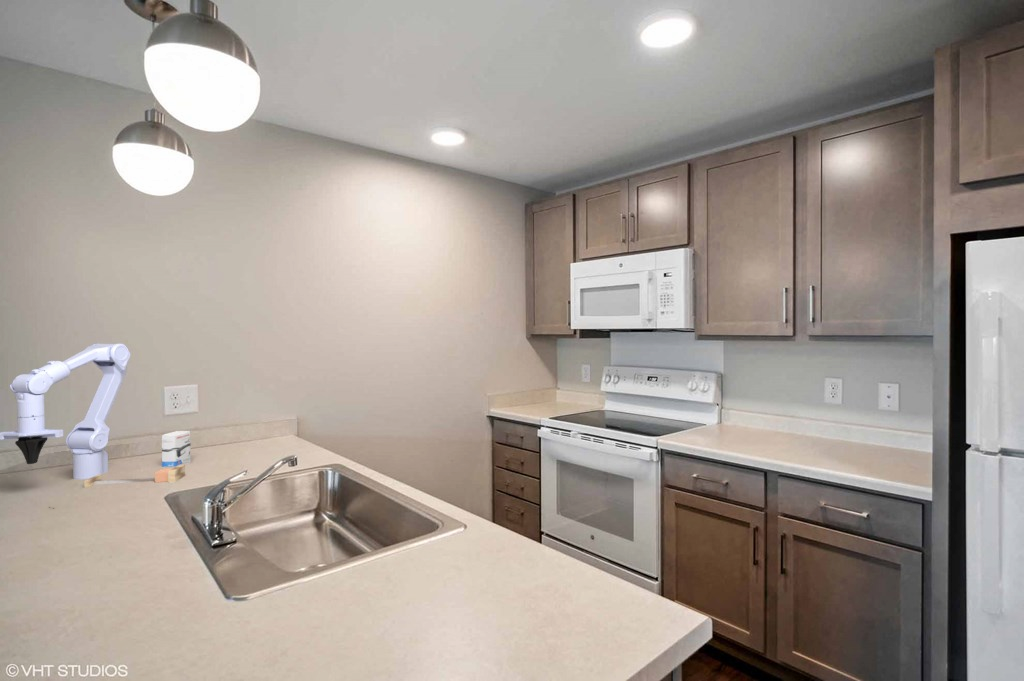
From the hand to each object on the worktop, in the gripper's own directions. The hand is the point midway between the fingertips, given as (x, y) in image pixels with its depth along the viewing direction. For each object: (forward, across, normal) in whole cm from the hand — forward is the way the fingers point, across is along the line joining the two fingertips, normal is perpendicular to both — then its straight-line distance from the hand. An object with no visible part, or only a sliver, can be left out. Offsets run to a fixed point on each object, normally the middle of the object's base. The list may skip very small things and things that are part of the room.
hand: (32, 463), depth 146 cm
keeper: (+8, +32, +5) cm, 33 cm away
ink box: (+10, +27, +26) cm, 39 cm away
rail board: (+9, +24, +5) cm, 26 cm away
